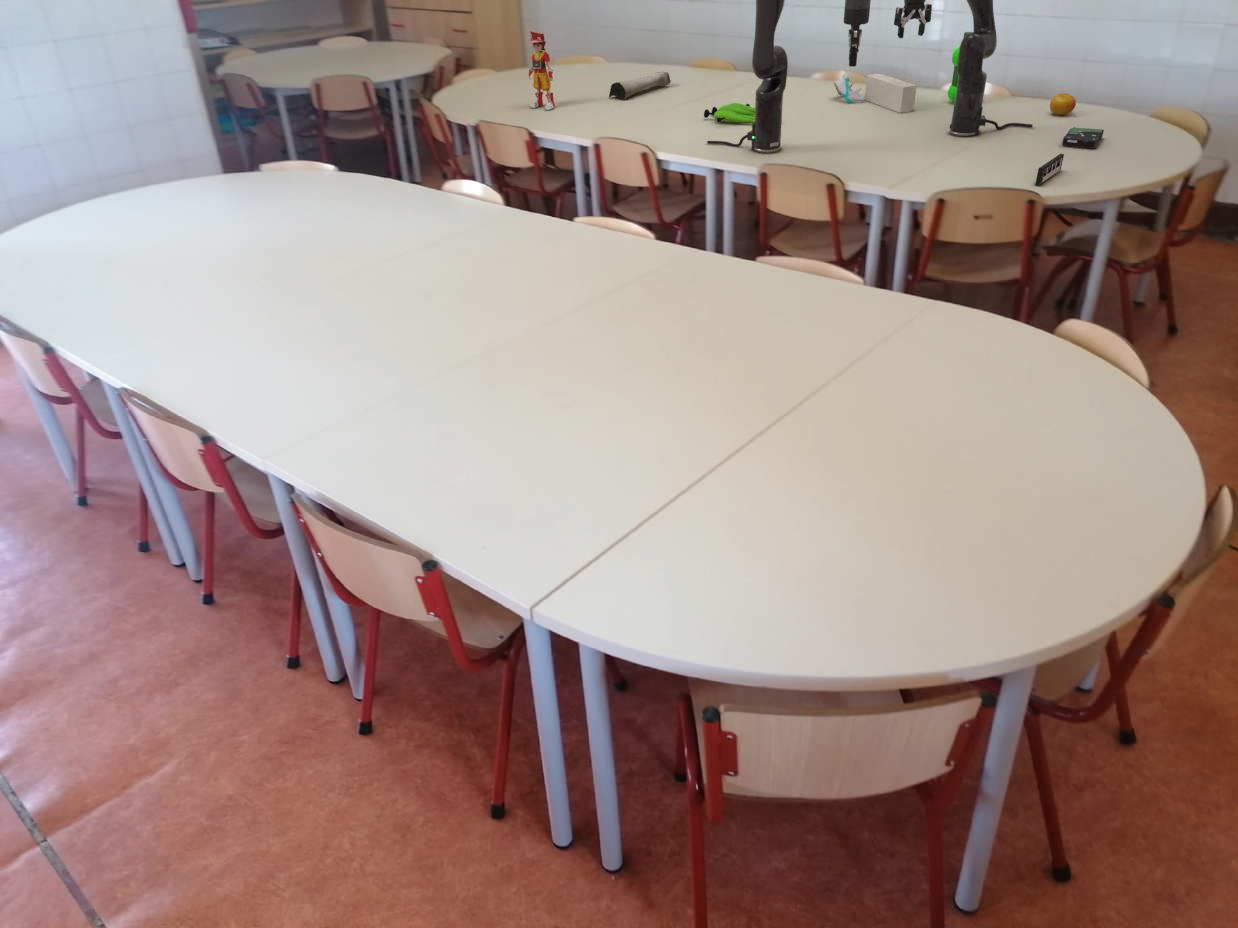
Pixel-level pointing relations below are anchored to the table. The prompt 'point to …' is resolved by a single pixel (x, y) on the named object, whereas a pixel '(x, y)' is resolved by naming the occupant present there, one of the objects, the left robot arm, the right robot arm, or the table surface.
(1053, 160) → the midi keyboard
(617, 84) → the rolled mat
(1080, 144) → the disk drive
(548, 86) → the toy
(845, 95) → the anatomical model
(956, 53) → the green tall lumpy piece
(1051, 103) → the fruit
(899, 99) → the box
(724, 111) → the toy
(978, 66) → the right robot arm
